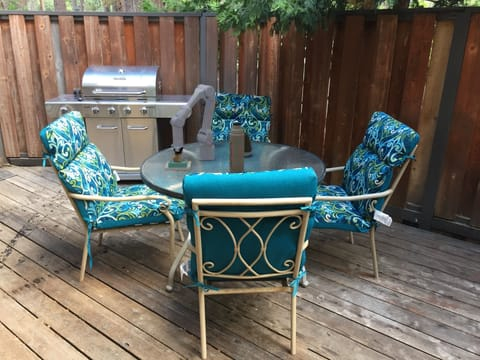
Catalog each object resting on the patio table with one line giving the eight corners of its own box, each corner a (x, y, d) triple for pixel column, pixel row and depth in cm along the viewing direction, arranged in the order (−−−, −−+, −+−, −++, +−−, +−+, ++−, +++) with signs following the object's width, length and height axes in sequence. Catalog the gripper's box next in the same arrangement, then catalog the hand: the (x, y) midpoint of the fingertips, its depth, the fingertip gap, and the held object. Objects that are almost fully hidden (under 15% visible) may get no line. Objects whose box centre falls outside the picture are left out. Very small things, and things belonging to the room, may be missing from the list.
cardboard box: (181, 162, 238) (181, 153, 236) (181, 165, 232) (181, 156, 230) (173, 162, 237) (173, 153, 235) (173, 165, 232) (173, 156, 230)
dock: (191, 163, 241) (191, 156, 240) (190, 170, 230) (189, 163, 229) (167, 163, 240) (167, 157, 239) (164, 170, 229) (164, 163, 228)
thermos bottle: (229, 175, 222) (229, 124, 212) (229, 170, 229) (229, 121, 219) (244, 175, 222) (245, 124, 213) (243, 170, 230) (243, 121, 220)
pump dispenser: (237, 158, 251) (237, 134, 246) (234, 153, 261) (234, 130, 255) (253, 157, 253) (254, 133, 248) (250, 153, 263) (250, 129, 257)
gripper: (172, 134, 241) (173, 156, 245) (169, 140, 227) (170, 163, 232) (184, 134, 241) (185, 156, 246) (182, 140, 227) (183, 163, 232)
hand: (178, 160), depth 239 cm, fingers closed
